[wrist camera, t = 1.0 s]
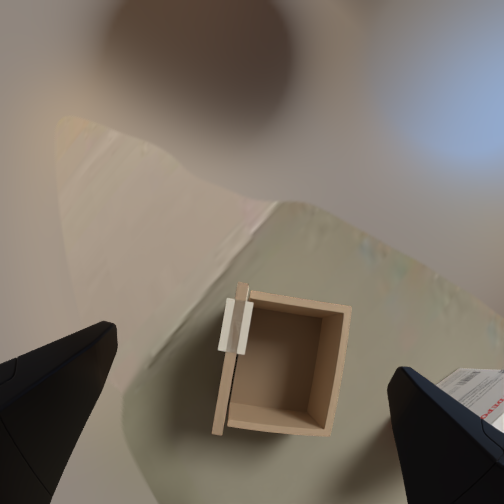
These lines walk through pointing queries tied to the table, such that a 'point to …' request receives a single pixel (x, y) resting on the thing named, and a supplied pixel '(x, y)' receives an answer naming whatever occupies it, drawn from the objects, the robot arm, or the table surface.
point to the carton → (290, 366)
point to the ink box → (478, 392)
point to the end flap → (232, 347)
